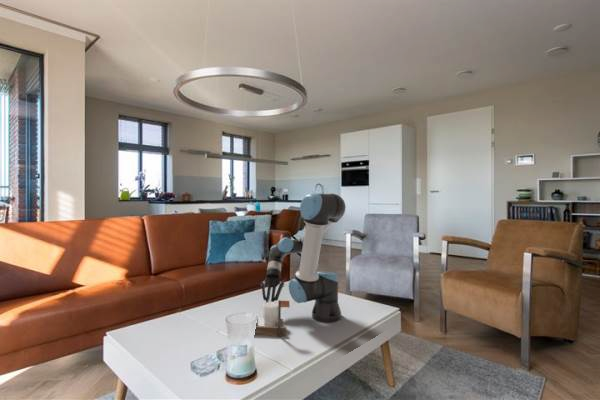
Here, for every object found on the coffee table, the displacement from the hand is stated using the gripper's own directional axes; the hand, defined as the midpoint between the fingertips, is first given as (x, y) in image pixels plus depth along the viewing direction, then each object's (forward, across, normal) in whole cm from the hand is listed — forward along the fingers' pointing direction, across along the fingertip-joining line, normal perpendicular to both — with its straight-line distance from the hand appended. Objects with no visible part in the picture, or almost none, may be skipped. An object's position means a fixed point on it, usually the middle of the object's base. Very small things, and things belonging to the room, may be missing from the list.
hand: (268, 313), depth 159 cm
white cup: (+6, -2, 0) cm, 6 cm away
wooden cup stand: (+10, -2, +5) cm, 12 cm away
